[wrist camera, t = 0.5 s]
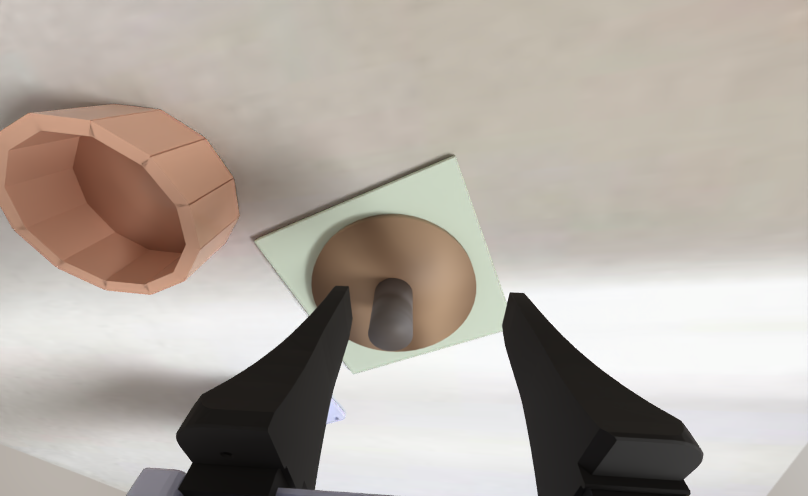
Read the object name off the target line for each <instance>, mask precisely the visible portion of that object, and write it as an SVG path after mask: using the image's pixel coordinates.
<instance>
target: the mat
mask: <svg viewBox="0 0 808 496" xmlns="http://www.w3.org/2000/svg"><path fill="white" fill-rule="evenodd" d="M381 214H404V215H409V216H415V217H418V218H422V219H425V220H427V221H430V222H432V223H434V224H436V225H438V226H440V227H441V228H443V229H445V230H446V231H447V232H449V233H450V234H451V235H452V236H454V237H455V238H456V240H457V241H458V242H459V243H460V244H461V245H462V246H463V248H464V249H465V251H466V252H467V254H468V256H469V258H470V260H471V263H472V266H473V270H474V273H475V277H476V297H475V302H474V305H473V307H472V310H471V312H470V314H469V315H468V317H467V319H466V320H465V321H464V323H463V324H462V325H461V326H460V327H459V328H458V329H457V330H456V331H455V332H454V333H452V334H451V335H450V336H449V337H447V338H445V339H444V340H442V341H440V342H438V343H436V344H434V345H431V346H428V347H426V348H422V349H418V350H413V351H406V352H388V351H380V350H375V349H371V348H367V347H364V346H361V345H358V344H356V343H354V342H352V341H350V340H349V341H348V344H347V347H346V350H345V354H344V357H343V361H344V362H345V364H346V365H347V367H348V368H349V369H350V371H351V372H352V373H353V374H357V373H360V372H363V371H367V370H370V369H374V368H377V367H381V366H384V365H388V364H391V363H394V362H398V361H401V360H405V359H408V358H412V357H415V356H419V355H422V354H426V353H429V352H432V351H436V350H439V349H443V348H446V347H450V346H453V345H457V344H460V343H464V342H467V341H470V340H474V339H477V338H481V337H484V336H488V335H491V334H495V333H498V332H501V331H503V329H502V323H503V319H504V314H505V310H506V306H507V302H506V300H505V297H504V294H503V291H502V288H501V285H500V282H499V280H498V277H497V274H496V271H495V268H494V265H493V262H492V259H491V257H490V254H489V251H488V248H487V245H486V242H485V239H484V237H483V234H482V231H481V228H480V225H479V222H478V219H477V217H476V214H475V211H474V208H473V205H472V202H471V199H470V196H469V194H468V191H467V188H466V185H465V182H464V179H463V176H462V174H461V171H460V168H459V165H458V162H457V159H456V157H455V155H454V156H451V157H449V158H447V159H444V160H442V161H440V162H437V163H435V164H432V165H430V166H428V167H425V168H423V169H421V170H418V171H416V172H413V173H411V174H409V175H406V176H404V177H402V178H399V179H397V180H394V181H392V182H390V183H387V184H385V185H383V186H380V187H378V188H375V189H373V190H371V191H368V192H366V193H364V194H361V195H359V196H357V197H354V198H352V199H349V200H347V201H345V202H342V203H340V204H338V205H335V206H333V207H330V208H328V209H326V210H323V211H321V212H319V213H316V214H314V215H311V216H309V217H307V218H304V219H302V220H300V221H297V222H295V223H292V224H290V225H288V226H285V227H283V228H281V229H278V230H276V231H274V232H271V233H269V234H266V235H264V236H262V237H259V238H257V239H256V240H255V241H254V242H255V243H256V245H257V246H258V247H259V249H260V250H261V252H262V253H263V254H264V256H265V257H266V258H267V260H268V261H269V262H270V264H271V265H272V266H273V268H274V269H275V270H276V272H277V273H278V274H279V276H280V277H281V278H282V280H283V281H284V282H285V284H286V285H287V286H288V288H289V289H290V290H291V292H292V293H293V294H294V296H295V297H296V298H297V300H298V301H299V302H300V304H301V305H302V306H303V308H304V309H305V310H306V312H307V313H308V314H309V316H310V315H311V313H312V312H313V311H314V310H315V309H316V308H317V306H316V304H315V301H314V298H313V294H312V287H311V281H312V273H313V268H314V265H315V263H316V260H317V258H318V256H319V254H320V252H321V250H322V249H323V247H324V245H325V244H326V243H327V242H328V241H329V239H330V238H331V237H332V236H333V235H335V234H336V233H337V232H338V231H339V230H341V229H342V228H344V227H345V226H347V225H349V224H351V223H353V222H355V221H357V220H360V219H363V218H366V217H370V216H375V215H381Z"/></svg>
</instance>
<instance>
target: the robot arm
mask: <svg viewBox="0 0 808 496" xmlns="http://www.w3.org/2000/svg"><path fill="white" fill-rule="evenodd" d="M352 320H353V317H352V309H351V300H350V292H349V286H335V287H333V289H332V290H331V291H330V292H329V294H328V295H327V296H326V297H325V299H324V300H323V301H322V302H321V303H320V304H319V306H318V307H317V308H316V309H315V310H314V311H313V312H312V313H311V315H310V316H309V317H308V318H307V319H306V320H305V321H304V322H303V323H302V324H301V325H300V326H299V327H298V328H297V329H296V330H295V331H294V332H293V333H292V334H291V335H290V336H289V337H287V338H286V339H285V340H284V341H283V342H282V343H281V344H279V345H278V346H277V347H276V348H275V349H273V350H272V351H271V352H269V353H268V354H267V355H265V356H264V357H263V358H261V359H260V360H259V361H257V362H256V363H254V364H253V365H252V366H250V367H248V368H247V369H245V370H244V371H242V372H241V373H239V374H238V375H236V376H234V377H233V378H231V379H229V380H228V381H226V382H224V383H222V384H220V385H219V386H217V387H215V388H213V389H211V390H209V391H208V392H206V393H204V394H202V395H201V396H200V398H199V399H198V401H197V402H196V403H195V405H194V406H193V408H192V409H191V411H190V412H189V414H188V415H187V417H186V419H185V420H184V422H183V423H182V425H181V427H180V428H179V430H178V431H177V433H176V439H177V442H178V444H179V446H180V447H181V448H182V450H183V451H184V452H185V453H186V455H187V456H188V457H189V459H190V460H191V461H192V465H191V467H190V468H189V470H188V472H187V474H186V473H185V472H183V471H180V470H175V469H161V468H145V469H143V470H142V472H141V473H140V475H139V476H138V478H137V480H136V481H135V483H134V484H133V486H132V487H131V489H130V490H129V492H128V493H127V495H126V496H392V495H378V494H363V493H349V492H334V491H320V490H315V485H316V478H317V472H318V466H319V460H320V455H321V449H322V443H323V438H324V433H325V427H326V424H329V423H333V422H336V421H340V420H343V419H345V413H344V412H343V411H342V409H341V408H340V407H339V406H338V405H337V403H336V402H335V401H334V400H333V399H332V393H333V390H334V386H335V382H336V379H337V376H338V373H339V370H340V366H341V363H342V360H343V357H344V354H345V350H346V347H347V344H348V341H349V336H350V331H351V326H352ZM502 329H503V336H504V341H505V347H506V350H507V354H508V357H509V360H510V364H511V367H512V370H513V373H514V377H515V380H516V383H517V386H518V390H519V393H520V397H521V400H522V404H523V409H524V414H525V419H526V424H527V430H528V435H529V441H530V446H531V452H532V459H533V465H534V471H535V477H536V485H537V492H538V496H689V495H690V490H689V488H688V486H687V485H686V483H685V481H684V479H685V478H686V477H687V476H688V475H689V474H690V473H691V472H692V471H694V470H695V469H696V468H697V467H698V466H699V465H700V463H701V462H702V459H703V452H702V450H701V448H700V447H699V445H698V444H697V442H696V441H695V439H694V438H693V436H692V435H691V433H690V432H689V431H688V429H687V428H686V426H685V425H684V424H683V423H682V421H681V420H679V419H677V418H675V417H674V416H672V415H670V414H668V413H667V412H665V411H663V410H661V409H660V408H658V407H656V406H654V405H653V404H651V403H649V402H648V401H646V400H645V399H643V398H641V397H640V396H638V395H637V394H635V393H634V392H632V391H631V390H629V389H628V388H626V387H625V386H623V385H622V384H620V383H619V382H617V381H616V380H615V379H613V378H612V377H611V376H609V375H608V374H607V373H605V372H604V371H602V370H601V369H600V368H599V367H597V366H596V365H595V364H594V363H592V362H591V361H590V360H589V359H588V358H586V357H585V356H584V355H583V354H582V353H580V352H579V351H578V350H577V349H576V348H575V347H574V346H573V345H572V344H571V343H570V342H569V341H568V340H566V339H565V338H564V337H563V336H562V335H561V334H560V333H559V332H558V331H557V330H556V328H555V327H554V326H553V325H552V324H551V323H550V322H549V321H548V320H547V319H546V318H545V317H544V315H543V314H542V313H541V312H540V311H539V310H538V309H537V307H536V306H535V305H534V304H533V303H532V302H531V301H530V299H529V298H528V297H527V296H526V295H525V294H524V293H510V294H509V298H508V302H507V306H506V310H505V314H504V319H503V323H502Z"/></svg>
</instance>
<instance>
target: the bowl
mask: <svg viewBox="0 0 808 496" xmlns="http://www.w3.org/2000/svg"><path fill="white" fill-rule="evenodd" d="M232 178H233V176H232V175H231V173H230V172H229V170H228V169H227V168H226V166H225V165H224V163H223V162H222V161H221V159H220V158H219V156H218V155H217V153H216V152H215V151H214V149H213V148H212V146H211V145H210V144H209V142H208V141H207V139H205V137H203V136H201V135H200V134H198V133H197V132H195V131H194V130H192V129H190V128H189V127H187V126H186V125H184V124H183V123H181V122H180V121H178V120H176V119H175V118H173V117H172V116H170V115H169V114H167V113H165V112H164V111H162V110H160V109H152V108H144V107H136V106H128V105H120V104H108V105H99V106H89V107H80V108H71V109H61V110H52V111H43V112H33V113H28V114H26V115H25V116H23V117H22V118H20V119H18V120H17V121H15V122H14V123H12V124H11V125H9V126H7V127H6V128H4V129H3V130H1V131H0V207H1V208H2V210H3V212H4V214H5V216H6V217H7V219H8V221H9V223H10V225H11V227H12V228H13V229H15V230H14V231H15V232H16V233H18V234H19V235H20V236H21V237H22V238H23V239H24V240H26V241H27V242H28V243H29V244H30V245H31V246H32V247H34V248H35V249H36V250H37V251H38V252H39V253H40V254H42V255H43V256H44V257H45V258H46V259H47V260H48V261H50V262H51V263H52V264H53V265H54V266H55V267H57V266H58V269H61V270H63V271H65V272H67V273H69V274H71V275H74V276H76V277H78V278H80V279H82V280H84V281H87V282H89V283H91V284H93V285H95V286H98V287H100V288H102V289H104V290H108V291H118V292H128V293H138V294H148V295H151V294H154V293H157V292H159V291H162V290H164V289H166V288H169V287H171V286H174V285H176V284H179V283H181V282H183V281H185V280H186V279H187V278H188V277H189V276H191V275H192V274H193V273H194V272H195V271H196V270H197V269H198V268H199V267H200V266H201V265H202V264H204V263H205V262H206V261H207V260H208V259H209V258H210V257H211V256H212V255H213V254H214V253H215V252H216V251H218V250H219V249H220V248H221V247H222V246H223V245H224V244H225V243H226V241H227V239H228V237H229V236H230V234H231V232H232V230H233V228H234V226H235V224H236V222H237V220H238V218H239V216H240V215H239V209H238V202H237V195H236V189H235V182H234V179H232Z"/></svg>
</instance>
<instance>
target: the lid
mask: <svg viewBox="0 0 808 496" xmlns="http://www.w3.org/2000/svg"><path fill="white" fill-rule="evenodd" d="M335 286H349V292H350V300H351V309H352V317H353V320H352V326H351V331H350V336H349V340H350V341H352V342H354V343H356V344H358V345H361V346H364V347H367V348H371V349H375V350H380V351H388V352H406V351H413V350H418V349H422V348H426V347H428V346H431V345H434V344H436V343H438V342H440V341H442V340H444V339H445V338H447V337H449V336H450V335H451V334H452V333H454V332H455V331H456V330H457V329H458V328H459V327H460V326H461V325H462V324H463V323H464V321H465V320H466V319H467V317H468V315H469V314H470V312H471V310H472V307H473V305H474V302H475V297H476V277H475V273H474V270H473V266H472V263H471V260H470V258H469V256H468V254H467V252H466V251H465V249H464V248H463V246H462V245H461V244H460V243H459V242H458V241H457V240H456V238H455V237H454V236H452V235H451V234H450V233H449V232H447V231H446V230H445V229H443V228H441V227H440V226H438V225H436V224H434V223H432V222H430V221H427V220H425V219H422V218H418V217H415V216H409V215H404V214H381V215H375V216H370V217H366V218H363V219H360V220H357V221H355V222H353V223H351V224H349V225H347V226H345V227H344V228H342V229H341V230H339V231H338V232H337V233H336V234H335V235H333V236H332V237H331V238H330V239H329V241H328V242H327V243H326V244H325V245H324V247H323V249H322V250H321V252H320V254H319V256H318V258H317V260H316V263H315V265H314V268H313V273H312V281H311V287H312V294H313V298H314V301H315V304H316V306H317V307H318V306H319V304H320V303H321V302H322V301H323V300H324V299H325V297H326V296H327V295H328V294H329V292H330V291H331V290H332V289H333V287H335Z"/></svg>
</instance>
